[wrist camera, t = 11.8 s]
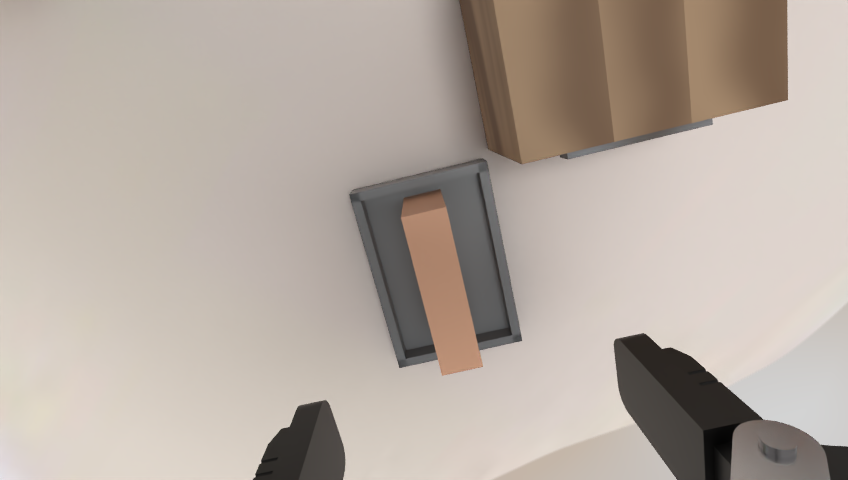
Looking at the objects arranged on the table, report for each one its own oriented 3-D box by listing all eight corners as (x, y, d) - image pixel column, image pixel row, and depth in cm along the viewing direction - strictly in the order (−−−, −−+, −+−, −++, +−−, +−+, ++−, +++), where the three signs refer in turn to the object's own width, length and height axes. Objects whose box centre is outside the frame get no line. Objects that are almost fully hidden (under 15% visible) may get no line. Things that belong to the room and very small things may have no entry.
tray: (400, 354, 33) (399, 368, 31) (353, 189, 29) (349, 194, 28) (516, 328, 33) (522, 340, 31) (482, 158, 29) (486, 161, 27)
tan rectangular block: (437, 328, 32) (442, 375, 26) (403, 197, 29) (400, 217, 23) (470, 321, 32) (482, 366, 26) (440, 189, 29) (446, 206, 23)
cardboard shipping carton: (489, 156, 29) (523, 174, 20) (456, -15, 26) (478, -85, 17) (668, 113, 28) (787, 111, 19) (654, -67, 26) (786, -168, 17)
